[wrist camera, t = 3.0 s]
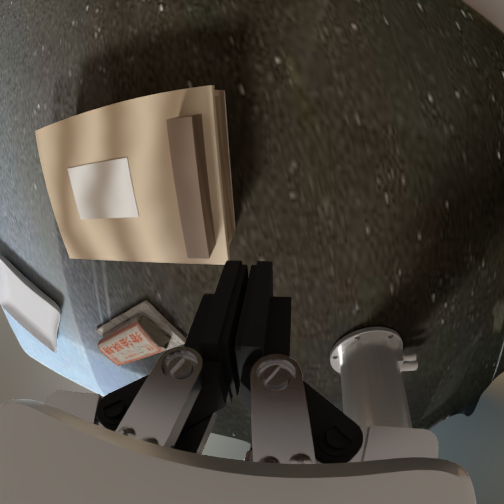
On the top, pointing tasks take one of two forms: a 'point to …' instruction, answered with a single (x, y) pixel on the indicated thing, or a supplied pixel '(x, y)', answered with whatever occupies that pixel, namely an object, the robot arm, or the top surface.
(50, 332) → the salad plate
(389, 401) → the robot arm
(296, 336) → the top surface
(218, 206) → the lid
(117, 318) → the packaged product
